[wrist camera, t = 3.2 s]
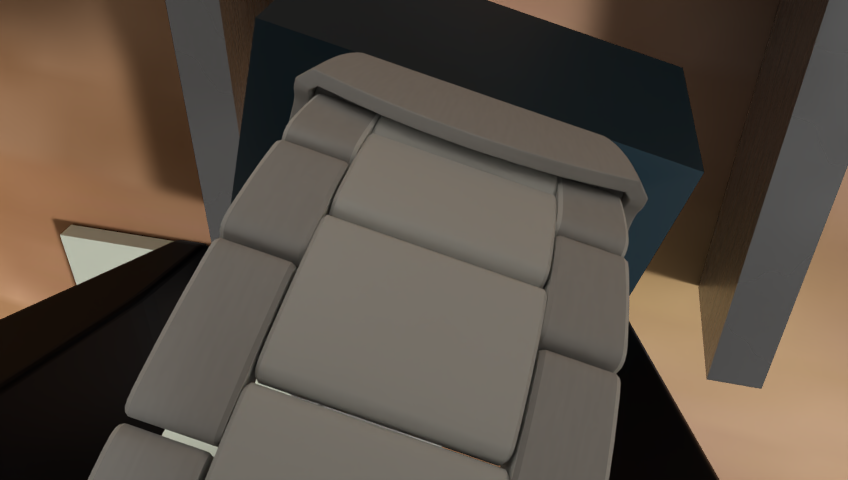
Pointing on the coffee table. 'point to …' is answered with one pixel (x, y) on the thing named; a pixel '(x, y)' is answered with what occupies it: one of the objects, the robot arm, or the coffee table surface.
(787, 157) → the grey u-shaped piece
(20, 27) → the coffee table surface
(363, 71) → the watch
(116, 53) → the coffee table surface
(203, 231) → the coffee table surface
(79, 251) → the pad
